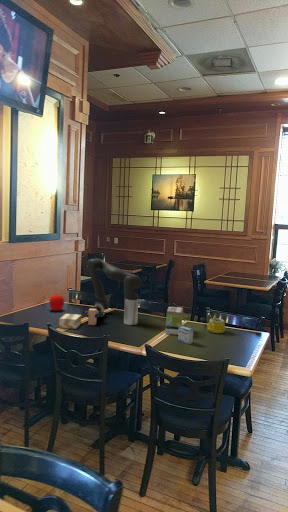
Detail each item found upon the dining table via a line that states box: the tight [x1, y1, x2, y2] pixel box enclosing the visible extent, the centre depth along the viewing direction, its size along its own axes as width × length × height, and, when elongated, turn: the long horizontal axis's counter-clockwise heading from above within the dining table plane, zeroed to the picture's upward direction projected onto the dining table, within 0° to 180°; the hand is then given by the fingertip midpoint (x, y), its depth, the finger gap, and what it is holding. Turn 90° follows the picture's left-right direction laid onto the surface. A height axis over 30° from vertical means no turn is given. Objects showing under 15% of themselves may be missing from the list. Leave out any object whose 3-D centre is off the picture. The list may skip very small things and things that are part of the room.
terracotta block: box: [87, 308, 98, 326], centre depth 247 cm, size 5×5×10 cm
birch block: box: [58, 313, 82, 330], centre depth 241 cm, size 11×13×6 cm
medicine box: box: [177, 325, 194, 345], centre depth 216 cm, size 8×4×9 cm, turn 45°
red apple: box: [48, 293, 65, 312], centre depth 279 cm, size 11×11×13 cm
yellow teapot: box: [206, 314, 226, 334], centre depth 240 cm, size 13×11×12 cm
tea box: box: [164, 306, 184, 335], centre depth 238 cm, size 15×10×15 cm, turn 171°
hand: (91, 316), depth 244 cm, fingers closed on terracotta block, 4 cm apart
